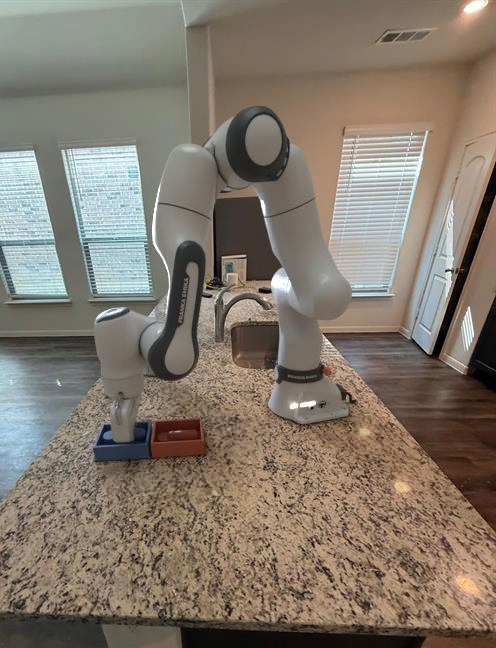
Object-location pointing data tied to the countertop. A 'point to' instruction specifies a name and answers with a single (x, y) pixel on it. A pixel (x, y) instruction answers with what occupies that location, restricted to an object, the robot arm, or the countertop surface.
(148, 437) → the blue bin
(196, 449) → the red bin
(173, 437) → the red lumpy bar
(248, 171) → the robot arm
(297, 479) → the countertop surface
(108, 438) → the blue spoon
